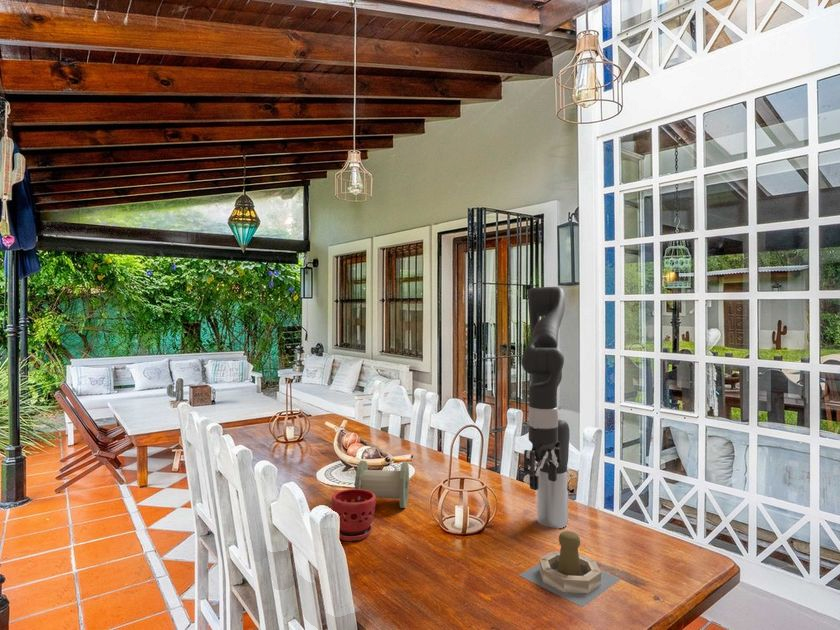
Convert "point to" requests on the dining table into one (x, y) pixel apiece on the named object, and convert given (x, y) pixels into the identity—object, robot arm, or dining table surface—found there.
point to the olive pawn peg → (569, 554)
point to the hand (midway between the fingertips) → (543, 484)
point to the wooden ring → (570, 582)
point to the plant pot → (354, 513)
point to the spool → (384, 482)
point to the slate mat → (576, 598)
